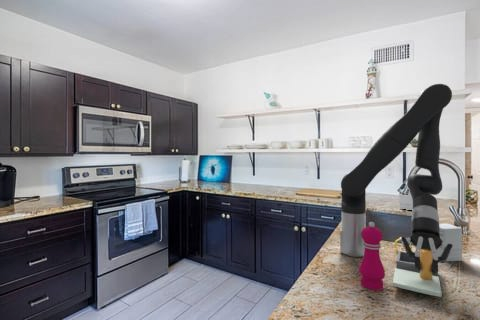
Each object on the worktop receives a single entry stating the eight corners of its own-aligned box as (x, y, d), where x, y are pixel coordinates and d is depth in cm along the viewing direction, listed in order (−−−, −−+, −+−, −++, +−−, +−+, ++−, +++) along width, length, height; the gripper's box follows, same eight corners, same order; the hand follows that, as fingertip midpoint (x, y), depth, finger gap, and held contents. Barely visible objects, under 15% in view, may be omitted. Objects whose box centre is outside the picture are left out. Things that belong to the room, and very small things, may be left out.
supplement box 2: (446, 253, 105) (446, 222, 105) (462, 261, 98) (463, 228, 98) (428, 254, 105) (429, 223, 105) (443, 261, 98) (444, 228, 98)
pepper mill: (373, 293, 76) (373, 226, 76) (354, 282, 83) (353, 220, 83) (390, 288, 79) (390, 223, 79) (370, 277, 86) (370, 218, 86)
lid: (392, 288, 76) (392, 254, 76) (395, 273, 86) (395, 243, 86) (441, 300, 70) (441, 263, 70) (438, 282, 79) (438, 250, 79)
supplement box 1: (418, 209, 186) (418, 189, 186) (412, 211, 181) (412, 190, 181) (404, 207, 194) (404, 187, 193) (398, 209, 188) (398, 188, 188)
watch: (410, 252, 108) (411, 238, 107) (411, 255, 105) (412, 240, 105) (393, 249, 111) (395, 235, 110) (394, 251, 108) (395, 237, 108)
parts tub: (396, 275, 87) (396, 260, 87) (398, 263, 96) (398, 250, 96) (437, 284, 81) (437, 268, 81) (435, 271, 90) (435, 256, 90)
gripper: (400, 213, 89) (398, 261, 79) (453, 218, 81) (458, 272, 71) (400, 225, 93) (399, 272, 83) (451, 231, 85) (455, 283, 75)
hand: (426, 272), depth 77 cm, fingers closed on lid, 3 cm apart
